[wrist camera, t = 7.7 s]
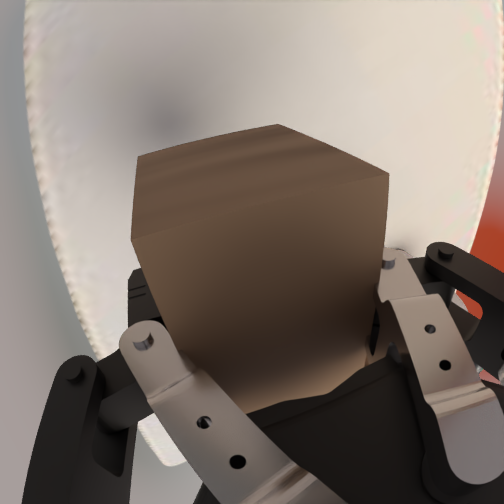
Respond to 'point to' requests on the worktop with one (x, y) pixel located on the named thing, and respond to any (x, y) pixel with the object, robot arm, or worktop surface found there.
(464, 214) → the worktop surface
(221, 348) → the block
